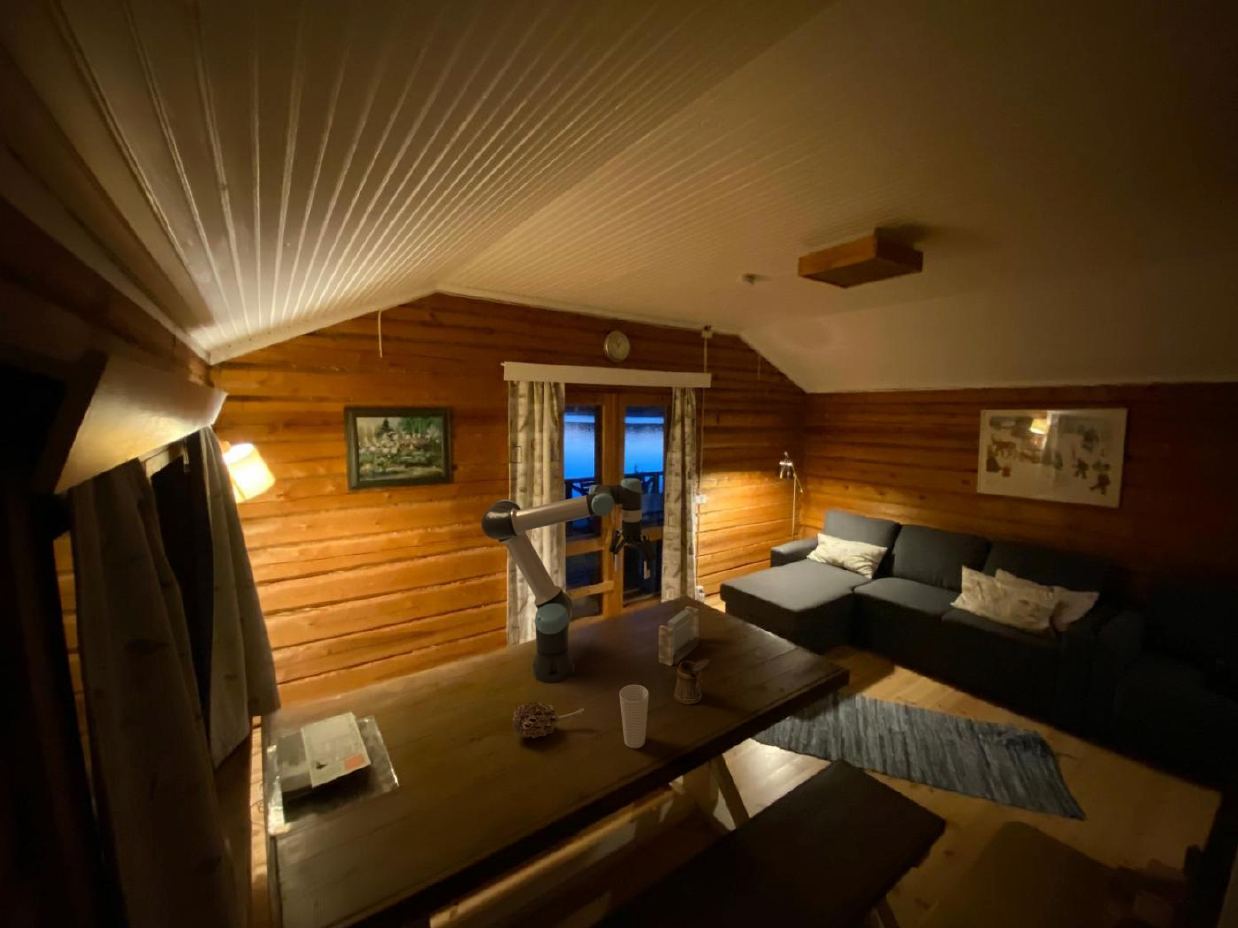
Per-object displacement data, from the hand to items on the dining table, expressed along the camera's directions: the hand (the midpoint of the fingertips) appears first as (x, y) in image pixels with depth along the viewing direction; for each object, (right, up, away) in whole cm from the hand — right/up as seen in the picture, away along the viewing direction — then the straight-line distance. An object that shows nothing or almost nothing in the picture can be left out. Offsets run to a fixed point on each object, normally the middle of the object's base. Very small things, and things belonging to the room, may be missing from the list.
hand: (632, 573), depth 195 cm
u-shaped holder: (+18, -31, +4) cm, 36 cm away
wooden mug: (+19, -36, -27) cm, 49 cm away
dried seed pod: (-26, -39, -41) cm, 62 cm away
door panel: (+18, -31, +4) cm, 36 cm away
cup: (0, -39, -46) cm, 60 cm away
